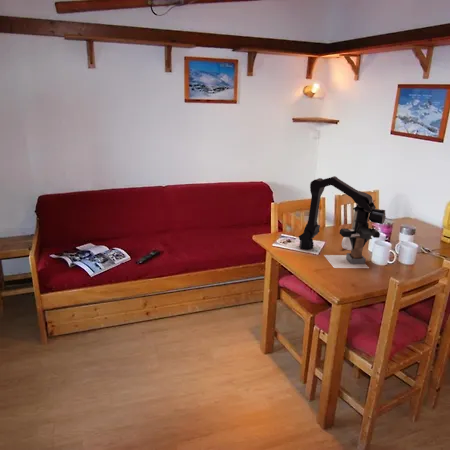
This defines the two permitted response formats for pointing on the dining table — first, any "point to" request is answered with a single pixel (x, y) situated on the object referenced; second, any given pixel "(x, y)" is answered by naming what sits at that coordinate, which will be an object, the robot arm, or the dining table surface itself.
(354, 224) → the travel mug
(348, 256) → the block
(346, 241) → the mug
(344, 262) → the board
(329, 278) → the dining table surface
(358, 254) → the post
